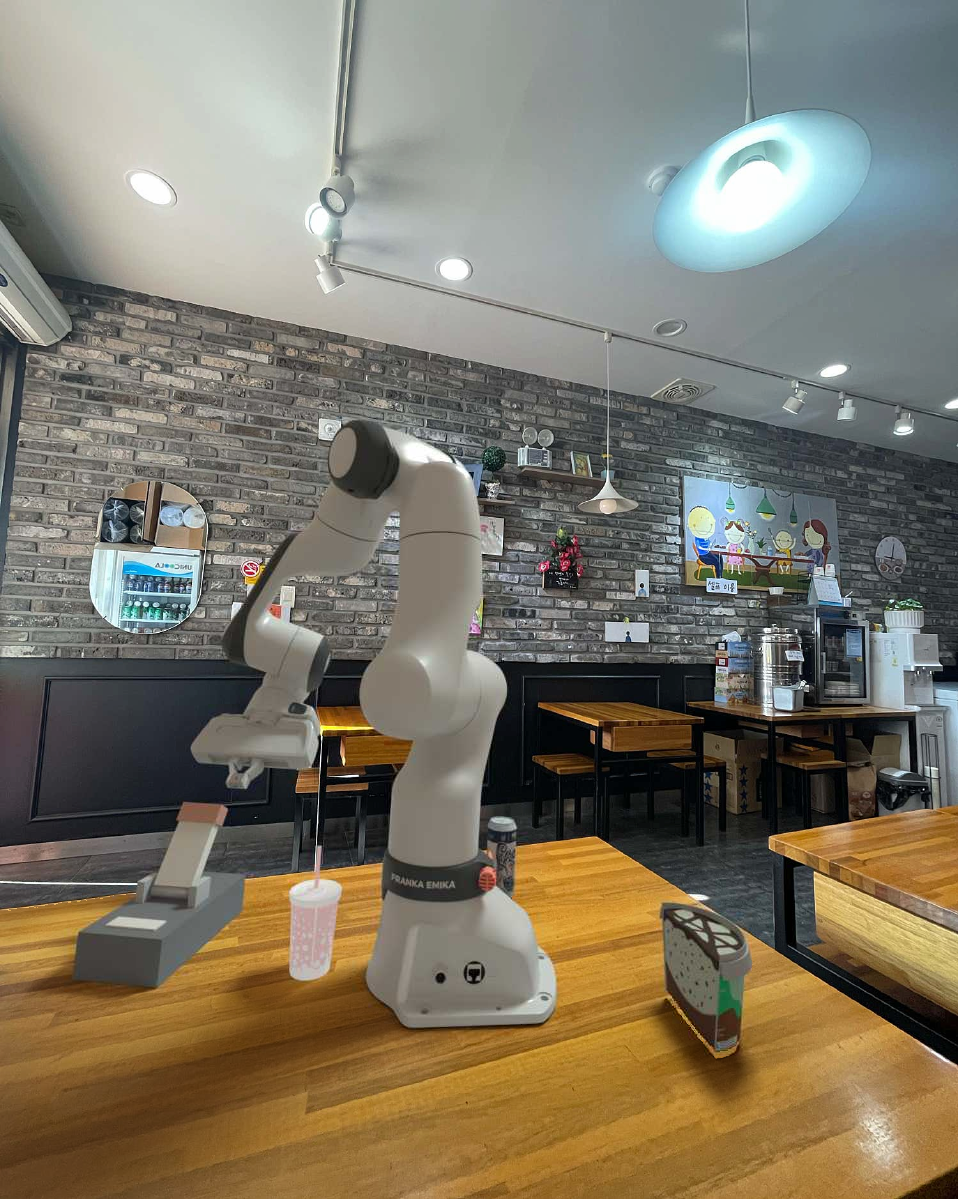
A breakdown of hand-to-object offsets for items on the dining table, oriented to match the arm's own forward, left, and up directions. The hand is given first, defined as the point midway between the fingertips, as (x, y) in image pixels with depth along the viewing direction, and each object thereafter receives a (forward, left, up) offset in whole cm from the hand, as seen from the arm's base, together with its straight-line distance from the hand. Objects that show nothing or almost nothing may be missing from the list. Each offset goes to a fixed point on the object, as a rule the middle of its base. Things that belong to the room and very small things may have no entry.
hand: (235, 786), depth 81 cm
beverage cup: (-20, +16, -16) cm, 30 cm away
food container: (-66, +19, -16) cm, 71 cm away
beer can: (-42, -7, -16) cm, 46 cm away
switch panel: (0, +13, -16) cm, 21 cm away
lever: (0, +13, -10) cm, 17 cm away
